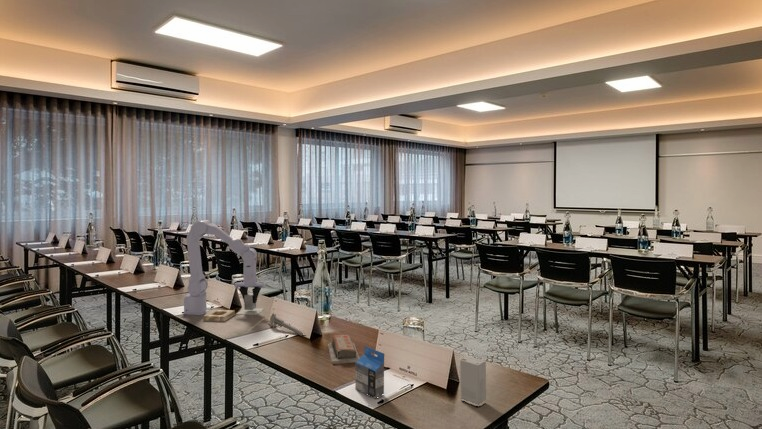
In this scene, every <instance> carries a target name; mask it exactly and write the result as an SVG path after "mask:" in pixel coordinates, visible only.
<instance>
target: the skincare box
mask: <svg viewBox="0 0 762 429" xmlns="http://www.w3.org/2000/svg"><path fill="white" fill-rule="evenodd" d="M459 363H460V364H459V366H460V367H459V368H460V369H459V370H460V371H459V372H460V373H459V374H460V400H461V399H464V400H466V401H470V402H472V403H475V404H478V405H479V404H480V403H482V402H483V401H485V400H486V401H487V361H485V360H482V359H479V358H475V357H473V356H469V355H467V356H465V357H463V358H462V359H460V360H459Z"/></svg>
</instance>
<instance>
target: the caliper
mask: <svg viewBox="0 0 762 429" xmlns="http://www.w3.org/2000/svg"><path fill="white" fill-rule="evenodd" d="M276 315H277V314H275V313H272V314H271V315H270V317H269V326H270V327H269V328H273V329H275V328H276V327H277V326H278V327H281V328H285V329H287V330H290V332H293V333H295V334H297V335H299V336H302V335H303V333H302V332H303V331H302V330H301V329H299V328H296V327H295V326H293V325H291V324H289V323H287V322H285V321H284V320H283V319H281V318H279V317H277V316H276ZM298 329H299V330H298ZM300 330H301V331H302V332H301V331H300Z"/></svg>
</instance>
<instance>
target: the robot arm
mask: <svg viewBox="0 0 762 429" xmlns="http://www.w3.org/2000/svg"><path fill="white" fill-rule="evenodd" d="M205 235H207V236H208V235H209V236H210V235H211V236H215V237H216V238H218V239H219V240H221V241H222V242H224V243H225V244H227V245H228V247H229V249H230V250H231V251H233V252H234V253H235V254H237V255H238V256H240V257H241V259H242V260H243V282H235V283H234V288H238V291H239V293H240V295H241V296H242V300H243V301H244V295H245V294H247V293H249V292H248V291H249V290H248V289H249V288H252V293H253V302H254V303H256V304H257V302H258V298H259V294H260V291H261V289H265V288H266V287H267V286H266V285H267V284H266V283H265V282H257V257H258V253H257V250H256V249H255V248H254V247H251V246H250V245H247V244H246V243H244V242H243V239H241V238H233V237H232V236H230V235H229V234H228V233H227V232H226V231H225V230H223V229H221V228H220V227H219V226H218V225H217V224H216V223H214V222H212V221H211V220H208V219H203V220H199V221H195V222H194V223H193V224H192V225H191V226H190V229H189V232H188V234H187V235H186V244H187V246H186V247H187V254H188V262H189V272H190V273H189V274H190V277H189V279H188V286H187V292H188V294H186V295H185V296H184V298H183V315H196V316H200V315H201V316H202V315H203V316H204V314H205V315H206V314H207V313H209V312H211V309H207V308H208V307H207V292H206V291H207V289H208V287H209V286H208V281H207V280H206V275H205V274H204V273H203V266H202V256H201V255H202V254H201V247H200V246H201V245H200V240H201V239H202V238H203V237H204V236H205Z"/></svg>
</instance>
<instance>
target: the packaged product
mask: <svg viewBox="0 0 762 429" xmlns="http://www.w3.org/2000/svg"><path fill="white" fill-rule="evenodd" d="M327 347H328V352H329V353H328V354H329V358H330V362H331V364H332V365H338V364H340V365H341V364H351V363H355V362H356V361H357V360H358V359H359V358H360V357H361V356H359V353H358V351H357V348H356V345H355V343H354V341H352V338H351V335H348V334H347V333H346V334H334V335H333V336H332V341H330V342H327Z"/></svg>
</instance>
